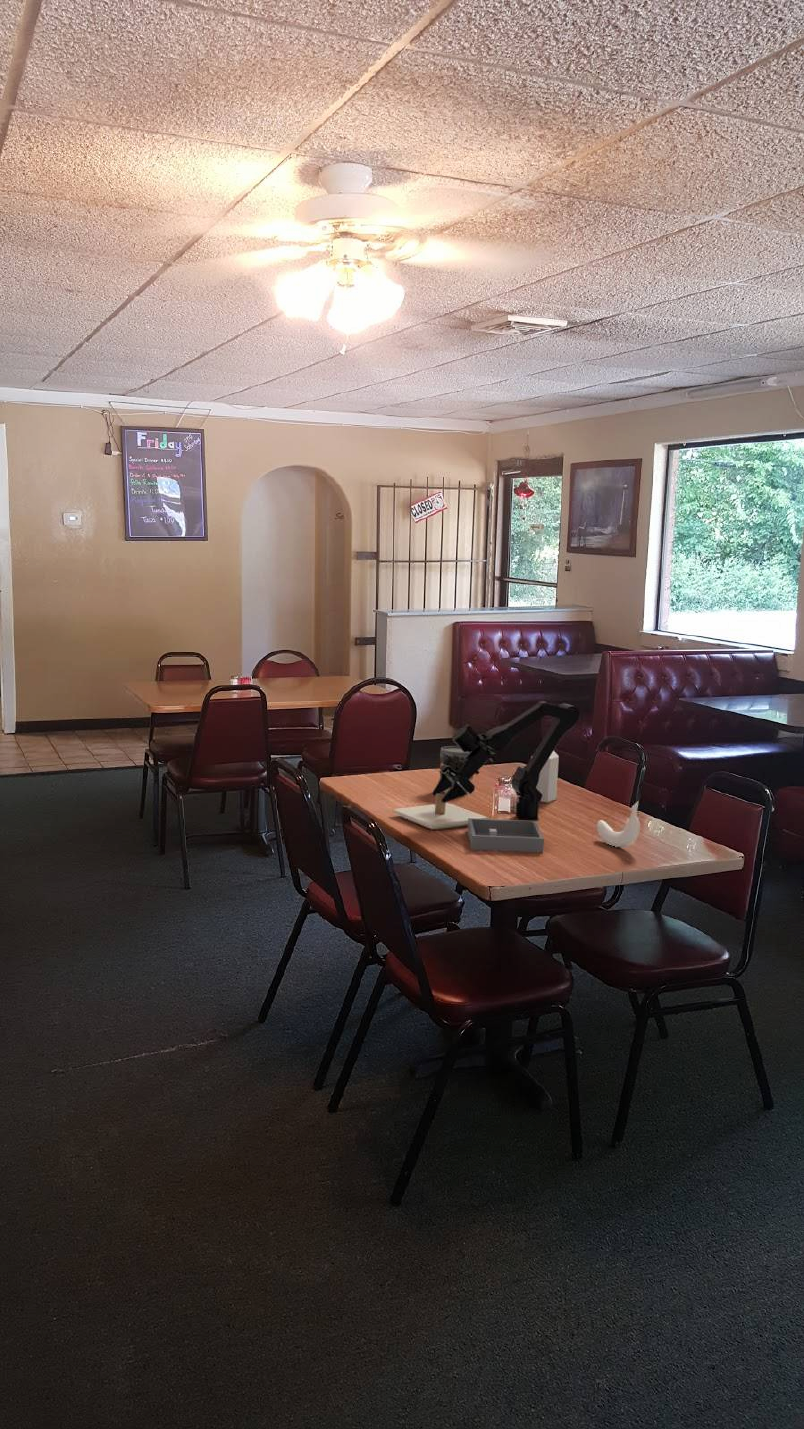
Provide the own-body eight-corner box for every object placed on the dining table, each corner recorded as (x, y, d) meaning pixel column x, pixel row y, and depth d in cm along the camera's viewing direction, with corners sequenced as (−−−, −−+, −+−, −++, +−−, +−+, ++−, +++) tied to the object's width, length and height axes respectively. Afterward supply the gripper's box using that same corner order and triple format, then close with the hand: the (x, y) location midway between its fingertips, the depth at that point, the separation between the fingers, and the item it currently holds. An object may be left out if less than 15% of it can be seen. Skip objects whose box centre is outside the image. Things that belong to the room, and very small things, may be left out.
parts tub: (534, 833, 318) (535, 820, 317) (543, 852, 298) (543, 838, 298) (467, 831, 318) (468, 818, 317) (471, 849, 298) (472, 835, 298)
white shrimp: (601, 837, 318) (604, 788, 315) (643, 854, 301) (647, 803, 299) (587, 838, 315) (591, 790, 313) (629, 855, 299) (633, 804, 297)
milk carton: (556, 799, 365) (559, 744, 362) (547, 803, 359) (550, 747, 356) (537, 796, 368) (540, 742, 366) (528, 799, 362) (531, 744, 360)
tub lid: (487, 824, 327) (488, 798, 326) (431, 832, 316) (432, 805, 314) (447, 809, 344) (448, 784, 343) (392, 816, 333) (393, 790, 331)
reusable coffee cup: (440, 786, 377) (442, 745, 375) (475, 789, 376) (477, 747, 374) (436, 794, 365) (438, 751, 363) (473, 797, 364) (475, 753, 361)
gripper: (447, 739, 336) (412, 774, 335) (466, 750, 319) (429, 787, 317) (469, 763, 340) (435, 797, 338) (490, 775, 322) (453, 812, 321)
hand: (437, 798), depth 329 cm, fingers open, 9 cm apart
